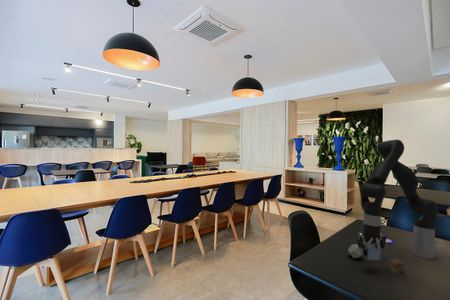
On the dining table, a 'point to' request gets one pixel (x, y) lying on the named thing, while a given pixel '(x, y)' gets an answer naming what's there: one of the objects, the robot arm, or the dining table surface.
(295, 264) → the dining table surface
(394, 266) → the walnut block
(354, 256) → the game die
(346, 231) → the dining table surface
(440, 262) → the dining table surface
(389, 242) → the building block set
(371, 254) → the blue block
